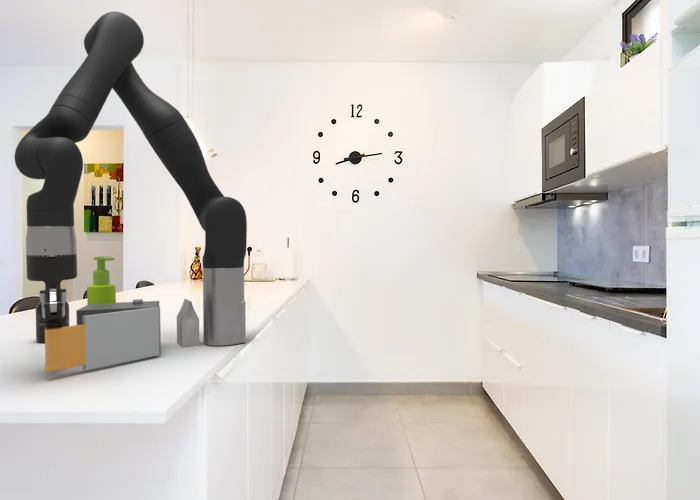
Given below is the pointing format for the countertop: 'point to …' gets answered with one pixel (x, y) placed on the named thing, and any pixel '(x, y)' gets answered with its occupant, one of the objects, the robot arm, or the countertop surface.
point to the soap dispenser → (101, 284)
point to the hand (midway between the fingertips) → (54, 350)
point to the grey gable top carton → (187, 326)
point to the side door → (104, 340)
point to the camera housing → (113, 308)
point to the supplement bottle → (41, 322)
